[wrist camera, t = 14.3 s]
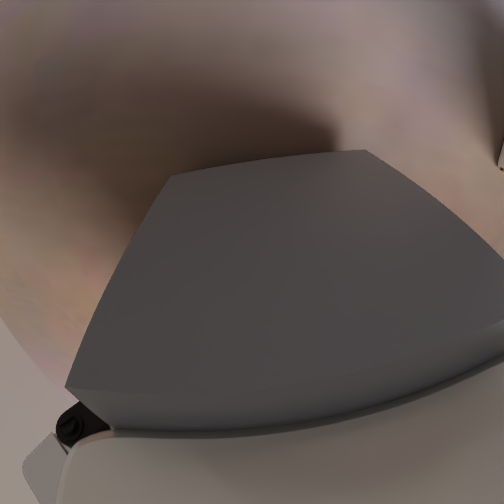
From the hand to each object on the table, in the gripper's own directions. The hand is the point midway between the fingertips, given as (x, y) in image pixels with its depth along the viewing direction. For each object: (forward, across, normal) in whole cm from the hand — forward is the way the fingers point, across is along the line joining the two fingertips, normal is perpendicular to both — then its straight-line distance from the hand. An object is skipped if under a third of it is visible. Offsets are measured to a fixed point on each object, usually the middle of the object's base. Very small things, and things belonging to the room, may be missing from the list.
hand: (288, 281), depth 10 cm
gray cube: (+2, 0, 0) cm, 2 cm away
